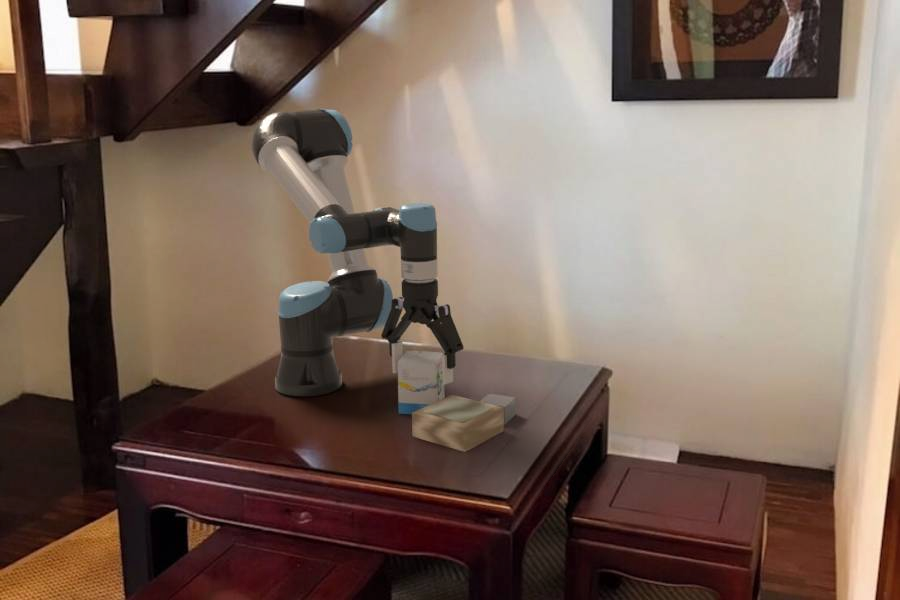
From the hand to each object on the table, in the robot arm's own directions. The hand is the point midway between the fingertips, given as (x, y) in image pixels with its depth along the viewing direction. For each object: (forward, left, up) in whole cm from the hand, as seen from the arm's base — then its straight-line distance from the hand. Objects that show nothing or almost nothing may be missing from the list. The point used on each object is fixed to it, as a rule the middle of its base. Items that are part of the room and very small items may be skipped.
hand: (422, 377), depth 211 cm
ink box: (0, 0, -7) cm, 7 cm away
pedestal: (+15, -7, -7) cm, 18 cm away
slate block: (+16, +5, -7) cm, 18 cm away
